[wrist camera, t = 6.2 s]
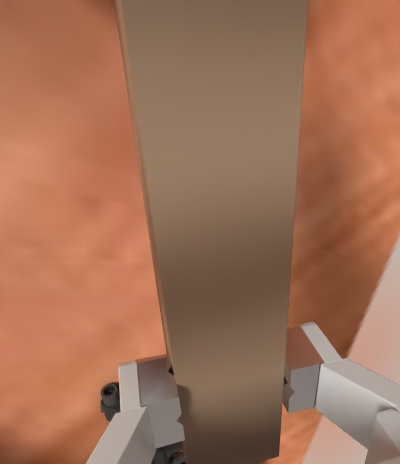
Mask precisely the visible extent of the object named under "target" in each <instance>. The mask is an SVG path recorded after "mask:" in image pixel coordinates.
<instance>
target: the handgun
mask: <svg viewBox="0 0 400 464" xmlns="http://www.w3.org/2000/svg"><path fill="white" fill-rule="evenodd" d="M101 396H102V400H101V412H102V413H103V412H104V413H105V416H106V419H107V420H108V421H110V422H111V420H112V418H113V417H114V415H115V413H119V412H121V410H120V390H119V389H117V386H116V385H115V384H108V385H106V386H104V387H103V388H102V390H101ZM180 450H183V445H182V441H180V442H177V443H173V444H170V445H166V446H163V447H159V448H156V452H155V454H154V457H153V460H152V462H151V464H186V462H184V461H185V455H184V453H182V454H181V455H179V456H176V457H173V458H170V456H171V455H172V454H173V453H175V452H177V451H180ZM254 464H258V462H257V463H254Z"/></svg>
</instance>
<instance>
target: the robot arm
mask: <svg viewBox="0 0 400 464" xmlns="http://www.w3.org/2000/svg"><path fill="white" fill-rule="evenodd" d="M118 369H119V390H120V410H121V412H119V413H115V415H114V417H113V418H112V420H111V422H110V423H109V425H108V427H107V429H106V430H105V432H104V434H103V435H102V437H101V439H100V440H99V442H98V444H97V445H96V447H95V449H94V450H93V452H92V454H91V456H90V457H89V459H88V461H87V462H86V464H151V462H152V460H153V457H154V454H155V452H156V448H159V447H163V446H166V445H170V444H173V443H177V442H180V441H183V440H185V437H184V428H183V422H182V417H181V414H182V413H181V407H180V400H179V395H178V390H177V385H176V381H175V377H174V376H173V369H172V363H171V358H170V354H164V355H159V356H154V357H149V358H143V359H138V360H135V361H130V362H124V363H119V368H118ZM282 402H283V404H284V406H285V408H286V410H287V412H288V413H292V412H296V411H301V410H305V409H309V408H314V407H315V409H316V410H317V411H319V412H320V413H321V414H323V415H324V416H325V417H327V418H328V419H329V420H331V421H332V422H333V423H334V424H336V425H337V426H338V427H340V428H341V429H342V430H343V431H345V432H346V433H347V434H349V435H350V436H352V437H353V438H354V439H355V440H357V441H358V442H359V443H360V444H362V445H363V446H364V447H366V448H367V449H368V453H367V456H366V460H365V464H400V385H398V384H396V383H394V382H392V381H390V380H389V379H387V378H385V377H382V376H381V375H379V374H377V373H375V372H373V371H371V370H369V369H367V368H365V367H363V366H361V365H359V364H357V363H355V362H353V361H352V360H350V359H348V358H345V359H342V358H341V357H340V355H339V354H338V353H337V351H336V350H335V349H334V347H333V346H332V344H331V343H330V342H329V340H328V339H327V338H326V336H325V335H324V334H323V332H322V331H321V330H320V328H319V327H318V326H317V324H316V323H315V322H313V321H312V322H308V323H303V324H299V325H294V326H290V327H287V338H286V353H285V363H284V384H283V392H282Z"/></svg>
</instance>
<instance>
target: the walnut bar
mask: <svg viewBox="0 0 400 464" xmlns="http://www.w3.org/2000/svg"><path fill="white" fill-rule="evenodd" d="M114 4H115V10H116V17H117V24H118V30H119V37H120V44H121V51H122V57H123V64H124V71H125V77H126V84H127V91H128V98H129V104H130V111H131V118H132V124H133V131H134V138H135V144H136V151H137V158H138V165H139V171H140V178H141V185H142V191H143V198H144V205H145V211H146V218H147V225H148V232H149V238H150V245H151V252H152V258H153V265H154V272H155V278H156V285H157V292H158V299H159V305H160V312H161V319H162V325H163V332H164V339H165V345H166V352H167V354H170V358H171V363H172V369H173V376H174V377H175V381H176V385H177V390H178V395H179V400H180V407H181V413H182V414H181V417H182V422H183V428H184V437H185V440H183V441H182V445H183V450H184V455H185V460H186V464H254V463H257V462H261V461H264V460H268V459H271V458H275V457H278V456H279V446H280V431H281V415H282V392H283V384H284V363H285V353H286V338H287V322H288V307H289V291H290V276H291V260H292V245H293V229H294V214H295V198H296V183H297V167H298V152H299V136H300V121H301V105H302V90H303V74H304V59H305V43H306V28H307V12H308V0H114Z"/></svg>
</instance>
